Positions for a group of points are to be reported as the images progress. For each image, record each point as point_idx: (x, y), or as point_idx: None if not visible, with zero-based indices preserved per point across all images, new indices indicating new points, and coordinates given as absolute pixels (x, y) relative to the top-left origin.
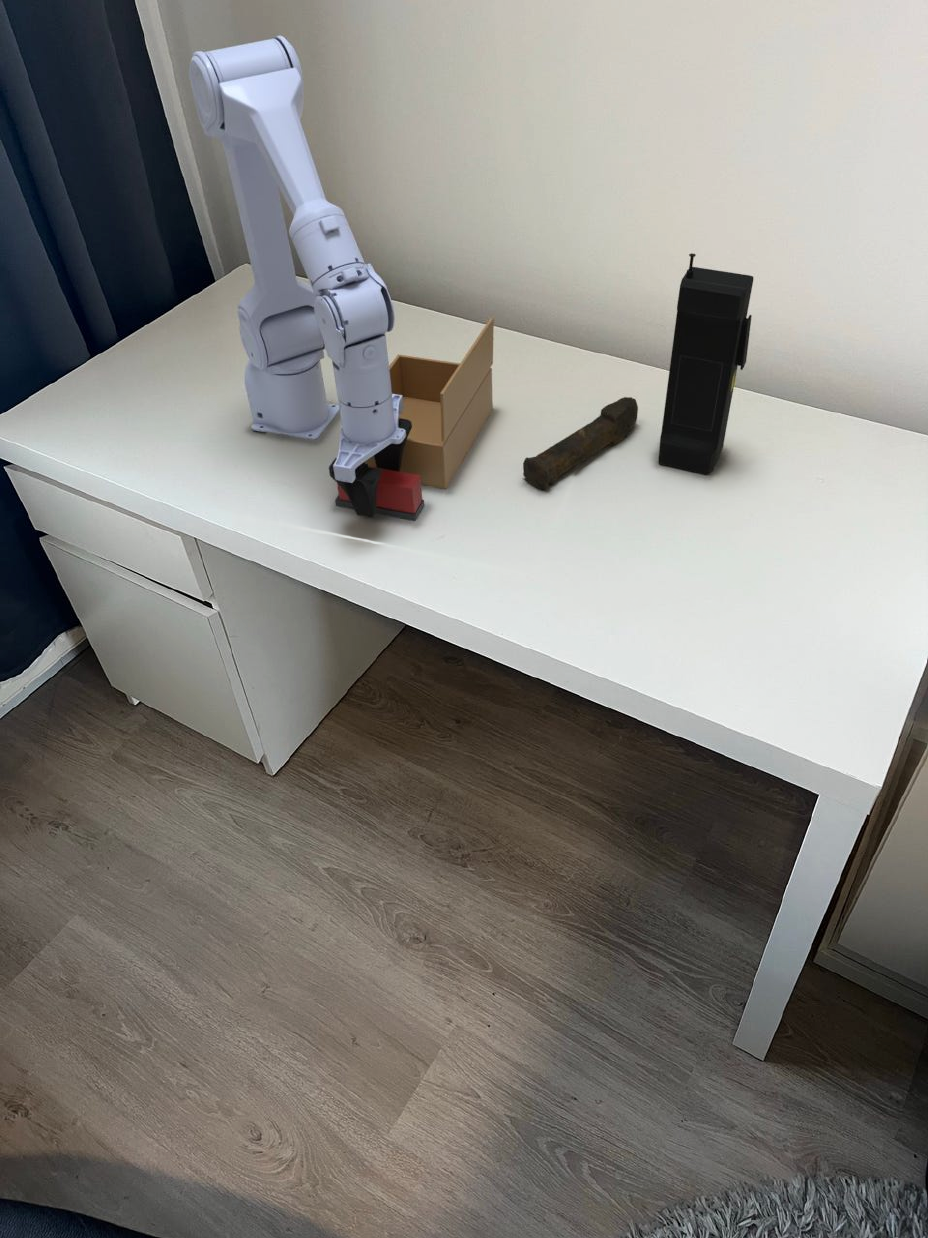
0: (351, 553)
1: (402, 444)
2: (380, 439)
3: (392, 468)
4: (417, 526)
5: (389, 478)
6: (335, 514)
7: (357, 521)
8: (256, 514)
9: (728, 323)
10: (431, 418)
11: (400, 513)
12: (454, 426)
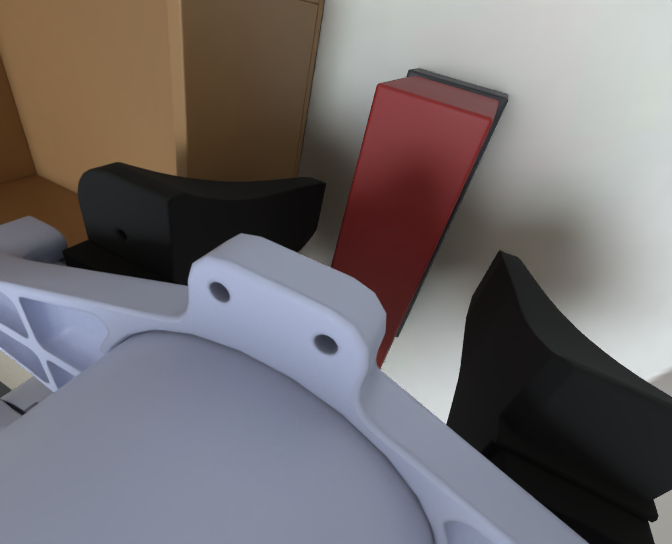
0: (634, 304)
1: (228, 198)
2: (401, 507)
3: (299, 207)
4: (528, 84)
5: (398, 231)
6: (428, 325)
7: (465, 279)
8: None
9: None
10: (61, 99)
11: (479, 158)
12: None
